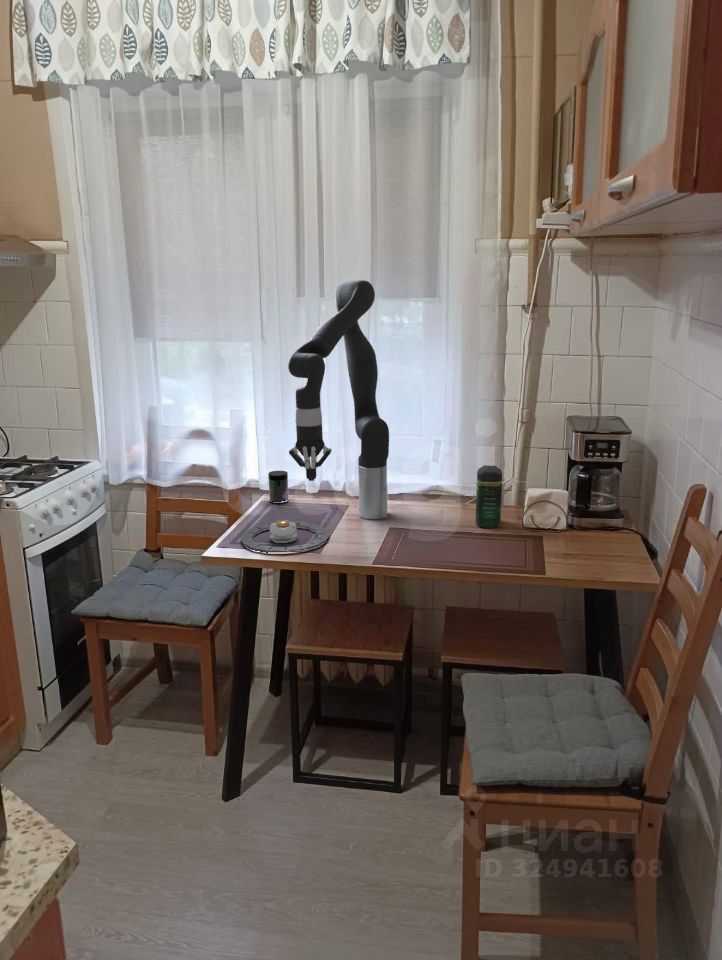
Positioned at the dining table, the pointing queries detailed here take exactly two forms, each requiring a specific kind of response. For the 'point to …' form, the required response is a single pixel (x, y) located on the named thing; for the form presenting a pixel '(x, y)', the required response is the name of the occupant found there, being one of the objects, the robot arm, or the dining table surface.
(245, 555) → the dining table surface
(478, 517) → the coffee jar
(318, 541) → the centring ring
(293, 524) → the cast cover
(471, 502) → the dining table surface
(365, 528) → the dining table surface
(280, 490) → the supplement container
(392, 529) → the dining table surface
